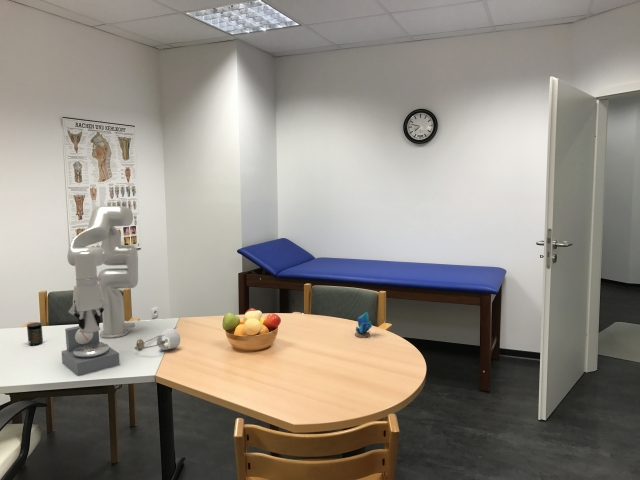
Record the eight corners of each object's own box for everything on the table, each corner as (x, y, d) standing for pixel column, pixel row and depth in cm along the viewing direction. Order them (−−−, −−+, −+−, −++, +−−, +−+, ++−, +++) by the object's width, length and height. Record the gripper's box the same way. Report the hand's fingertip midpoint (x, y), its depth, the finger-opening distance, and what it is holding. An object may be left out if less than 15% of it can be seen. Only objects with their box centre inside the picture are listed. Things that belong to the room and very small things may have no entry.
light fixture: (210, 331, 250) (167, 355, 211) (178, 336, 254) (130, 360, 215) (206, 313, 249) (163, 333, 211) (175, 318, 254) (126, 339, 215)
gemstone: (374, 335, 242) (374, 310, 240) (363, 339, 235) (363, 314, 234) (361, 331, 247) (362, 307, 245) (350, 336, 240) (350, 311, 239)
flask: (103, 329, 205) (102, 305, 203) (90, 334, 198) (88, 309, 196) (89, 327, 207) (88, 303, 206) (75, 332, 200) (74, 308, 199)
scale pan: (101, 343, 213) (101, 341, 213) (114, 351, 203) (114, 348, 203) (68, 351, 204) (68, 348, 204) (80, 359, 195) (80, 357, 194)
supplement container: (45, 343, 230) (44, 323, 228) (32, 346, 225) (31, 327, 224) (38, 340, 233) (37, 321, 232) (25, 344, 228) (24, 324, 227)
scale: (102, 353, 217) (100, 321, 215) (119, 364, 205) (117, 331, 203) (62, 363, 206) (59, 329, 204) (78, 376, 194) (75, 340, 192)
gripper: (105, 277, 208) (107, 320, 211) (60, 283, 196) (63, 329, 199) (112, 280, 203) (114, 324, 205) (67, 286, 191) (70, 333, 194)
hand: (89, 326), depth 202 cm, fingers closed on flask, 5 cm apart
